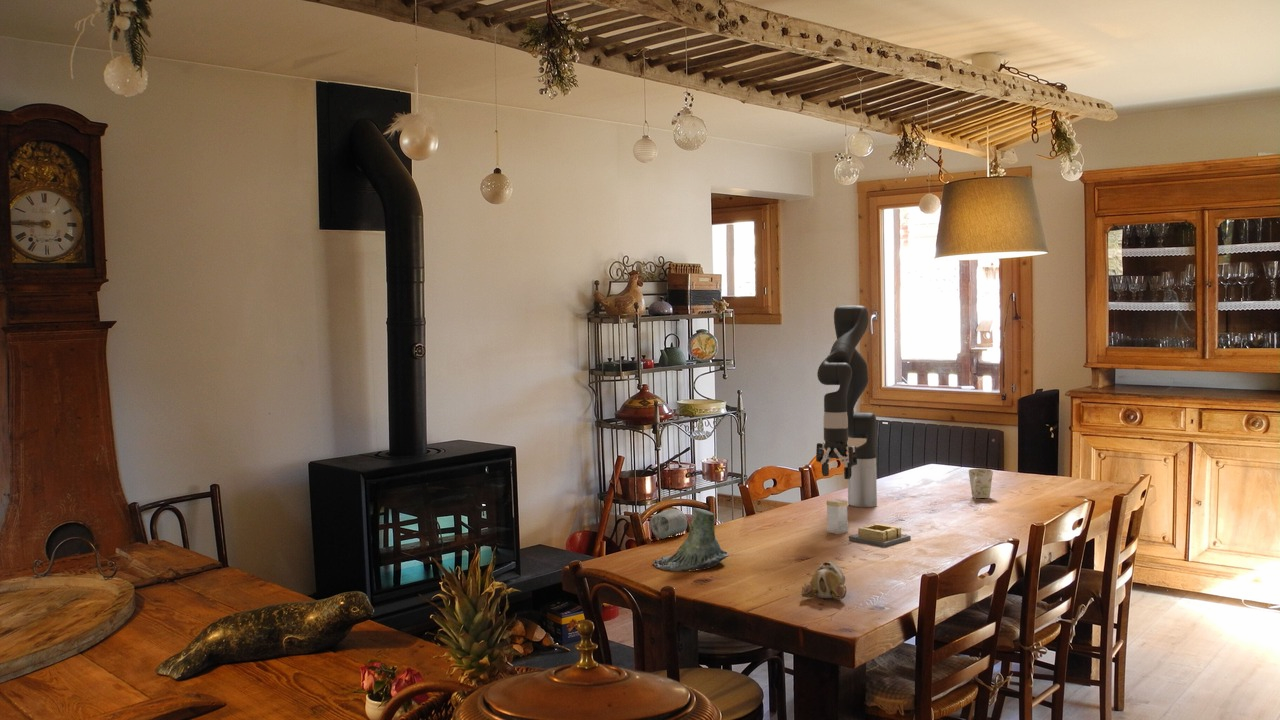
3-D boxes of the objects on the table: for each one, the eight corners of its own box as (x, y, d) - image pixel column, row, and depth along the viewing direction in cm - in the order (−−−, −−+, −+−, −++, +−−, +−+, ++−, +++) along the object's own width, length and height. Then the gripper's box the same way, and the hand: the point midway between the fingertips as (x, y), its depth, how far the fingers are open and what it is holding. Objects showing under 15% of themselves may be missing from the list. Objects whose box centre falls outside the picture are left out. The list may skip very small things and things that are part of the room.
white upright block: (827, 532, 308) (826, 500, 307) (836, 529, 311) (835, 498, 310) (838, 534, 304) (838, 502, 304) (847, 531, 307) (847, 500, 307)
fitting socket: (848, 540, 296) (848, 528, 296) (875, 533, 304) (874, 521, 304) (884, 547, 286) (884, 534, 286) (910, 539, 294) (910, 527, 294)
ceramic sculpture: (852, 555, 243) (842, 574, 229) (854, 589, 243) (844, 609, 229) (810, 552, 246) (797, 571, 233) (811, 586, 247) (799, 606, 233)
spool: (667, 532, 298) (661, 501, 303) (646, 542, 304) (640, 512, 308) (697, 535, 308) (690, 505, 312) (676, 545, 313) (670, 516, 318)
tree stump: (653, 557, 283) (667, 497, 283) (721, 573, 282) (734, 513, 282) (651, 570, 265) (665, 506, 264) (723, 588, 263) (737, 523, 263)
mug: (995, 496, 358) (995, 469, 358) (987, 502, 348) (987, 474, 347) (972, 494, 363) (971, 468, 362) (963, 500, 352) (963, 473, 352)
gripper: (810, 425, 309) (811, 476, 309) (846, 428, 298) (847, 481, 299) (825, 423, 314) (826, 473, 314) (861, 426, 303) (862, 478, 303)
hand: (836, 477), depth 306 cm, fingers open, 8 cm apart
